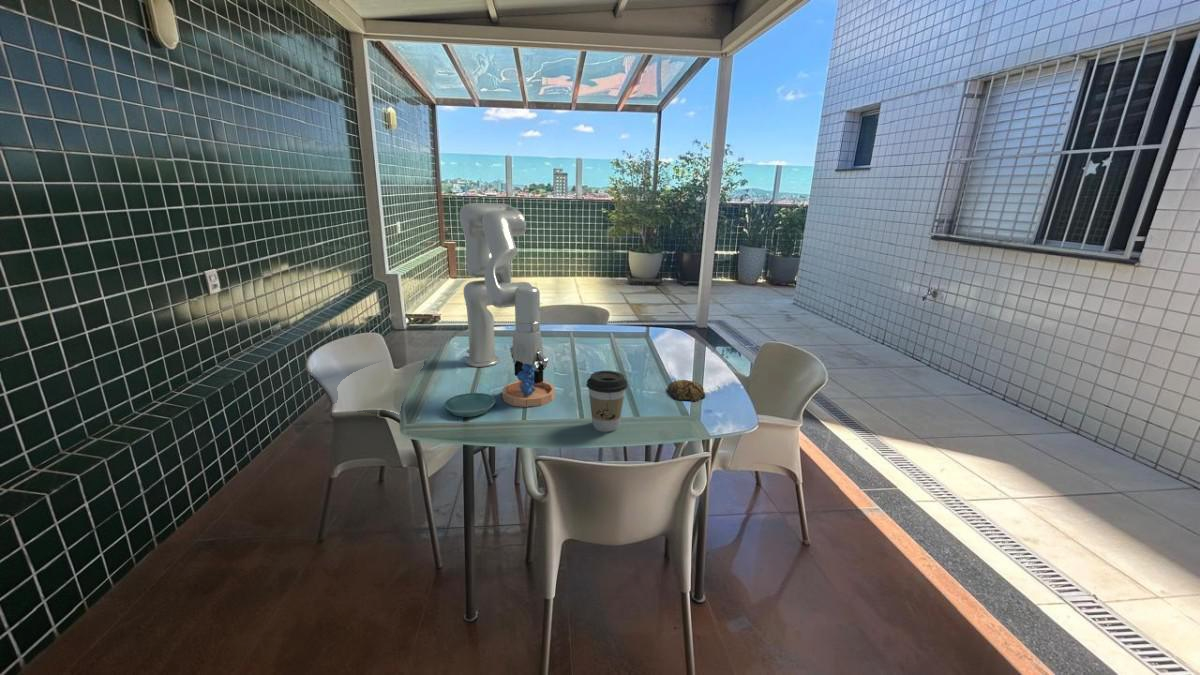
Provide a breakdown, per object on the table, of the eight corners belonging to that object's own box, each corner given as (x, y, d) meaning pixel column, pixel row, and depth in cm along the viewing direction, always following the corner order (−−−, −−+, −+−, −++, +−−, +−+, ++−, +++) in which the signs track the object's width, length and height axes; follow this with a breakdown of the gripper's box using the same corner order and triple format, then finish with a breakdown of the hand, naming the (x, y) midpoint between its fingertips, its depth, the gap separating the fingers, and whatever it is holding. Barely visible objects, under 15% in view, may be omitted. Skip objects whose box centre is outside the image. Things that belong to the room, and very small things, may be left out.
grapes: (524, 386, 162) (522, 352, 159) (543, 387, 161) (541, 353, 158) (510, 399, 151) (508, 363, 148) (531, 401, 150) (529, 364, 147)
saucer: (505, 405, 149) (505, 397, 148) (475, 424, 136) (474, 415, 135) (466, 397, 155) (466, 389, 154) (434, 414, 142) (433, 406, 141)
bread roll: (665, 387, 167) (666, 373, 166) (701, 387, 167) (702, 374, 166) (671, 402, 155) (672, 387, 153) (709, 402, 155) (711, 388, 153)
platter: (492, 396, 155) (492, 388, 155) (532, 383, 167) (532, 376, 166) (525, 411, 145) (525, 403, 144) (565, 396, 156) (565, 389, 156)
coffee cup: (586, 435, 131) (587, 383, 127) (585, 417, 142) (586, 369, 138) (628, 435, 131) (630, 383, 127) (624, 417, 142) (625, 369, 138)
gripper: (500, 323, 152) (502, 374, 157) (536, 334, 141) (537, 388, 146) (519, 319, 158) (521, 369, 162) (555, 329, 147) (555, 382, 151)
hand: (528, 378), depth 154 cm, fingers open, 9 cm apart
